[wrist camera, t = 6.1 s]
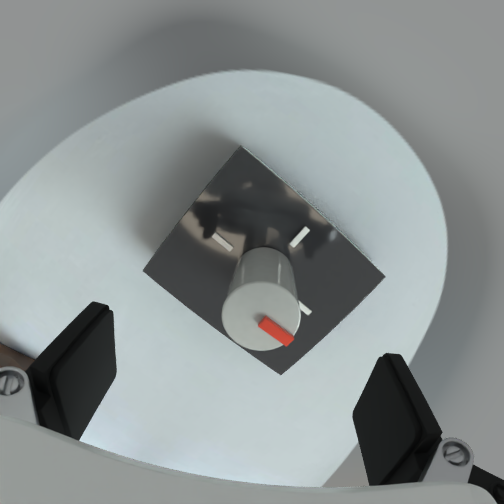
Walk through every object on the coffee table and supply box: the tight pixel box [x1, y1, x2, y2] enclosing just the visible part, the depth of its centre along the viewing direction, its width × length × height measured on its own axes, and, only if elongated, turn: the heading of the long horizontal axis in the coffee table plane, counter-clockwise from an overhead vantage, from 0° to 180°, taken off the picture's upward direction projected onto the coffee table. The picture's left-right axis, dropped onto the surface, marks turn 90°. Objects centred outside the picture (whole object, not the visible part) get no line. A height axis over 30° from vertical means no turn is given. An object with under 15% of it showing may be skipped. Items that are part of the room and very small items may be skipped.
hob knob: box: [222, 247, 301, 351], centre depth 17 cm, size 4×4×6 cm
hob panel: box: [143, 146, 385, 375], centre depth 21 cm, size 12×10×3 cm
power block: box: [0, 343, 35, 372], centre depth 27 cm, size 11×10×4 cm
